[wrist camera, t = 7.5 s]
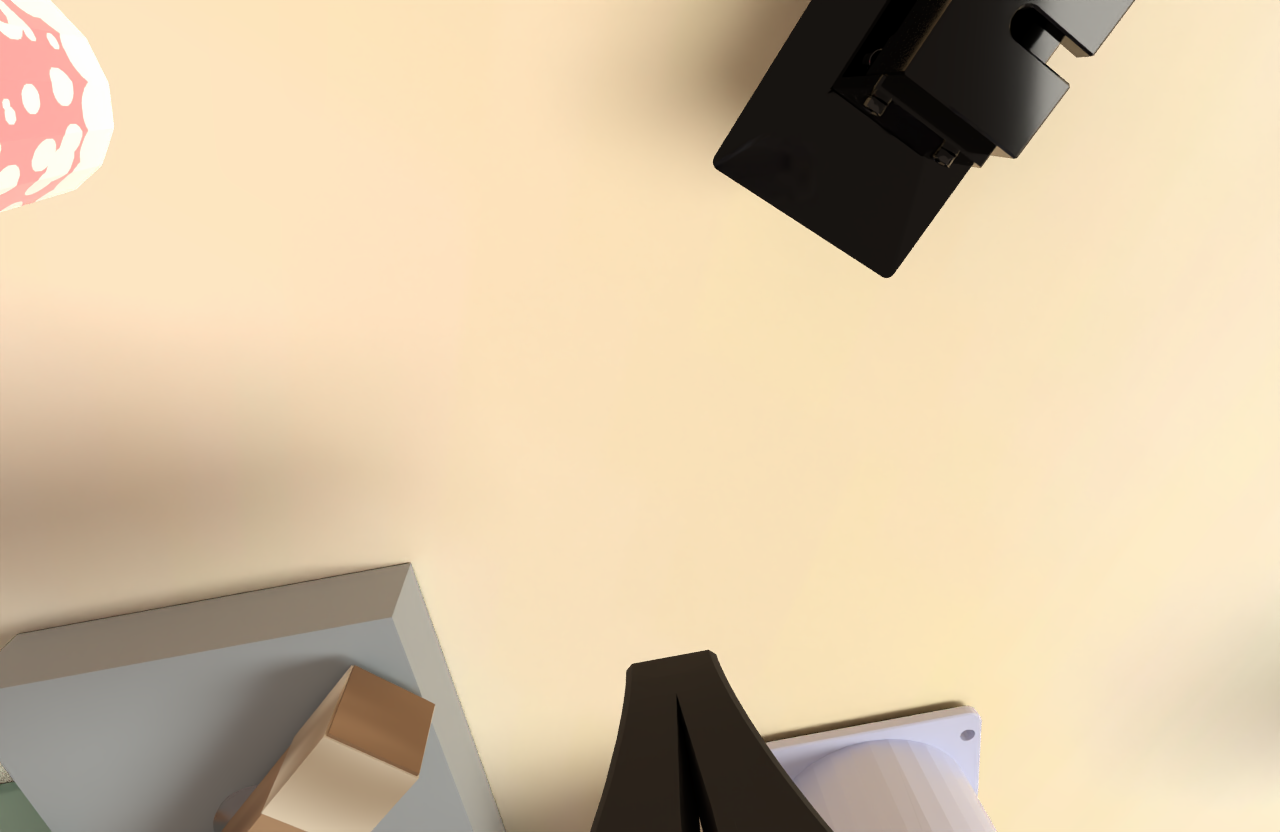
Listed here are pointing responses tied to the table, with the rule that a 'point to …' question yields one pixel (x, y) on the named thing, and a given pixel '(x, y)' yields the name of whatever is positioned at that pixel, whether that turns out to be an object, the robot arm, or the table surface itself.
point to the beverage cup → (48, 104)
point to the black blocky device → (901, 109)
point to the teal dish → (18, 811)
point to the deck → (224, 705)
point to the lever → (343, 761)
